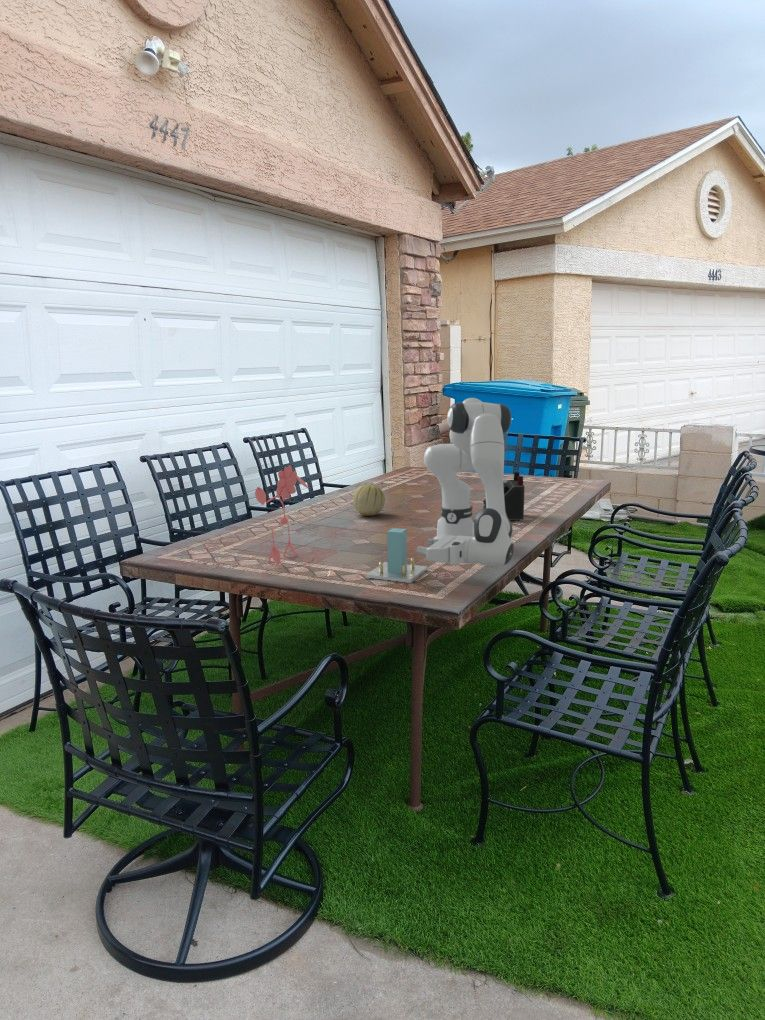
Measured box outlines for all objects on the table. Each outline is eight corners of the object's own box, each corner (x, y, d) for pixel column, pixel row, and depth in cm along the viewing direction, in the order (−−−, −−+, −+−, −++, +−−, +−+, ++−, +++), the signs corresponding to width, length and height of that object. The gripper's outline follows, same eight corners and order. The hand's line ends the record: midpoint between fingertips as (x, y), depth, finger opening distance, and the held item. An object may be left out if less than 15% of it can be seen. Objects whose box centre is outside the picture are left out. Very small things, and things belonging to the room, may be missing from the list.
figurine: (251, 567, 258) (248, 469, 250) (294, 550, 280) (292, 459, 272) (286, 574, 251) (284, 473, 243) (328, 555, 273) (327, 463, 265)
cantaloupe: (350, 518, 331) (349, 486, 328) (356, 511, 345) (355, 480, 342) (382, 519, 329) (382, 486, 325) (387, 512, 343) (387, 480, 340)
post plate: (384, 565, 258) (384, 552, 257) (427, 569, 252) (427, 556, 251) (366, 578, 244) (365, 564, 243) (410, 583, 238) (410, 569, 237)
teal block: (393, 567, 251) (392, 528, 248) (406, 569, 249) (406, 529, 246) (387, 571, 247) (387, 531, 244) (401, 573, 245) (401, 532, 242)
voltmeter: (482, 514, 335) (482, 471, 330) (518, 514, 334) (519, 471, 330) (485, 523, 319) (486, 477, 315) (523, 522, 318) (524, 477, 314)
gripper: (471, 532, 245) (433, 529, 251) (453, 547, 227) (411, 543, 232) (471, 550, 247) (433, 547, 252) (452, 566, 228) (411, 562, 234)
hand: (422, 545), depth 242 cm, fingers open, 8 cm apart
